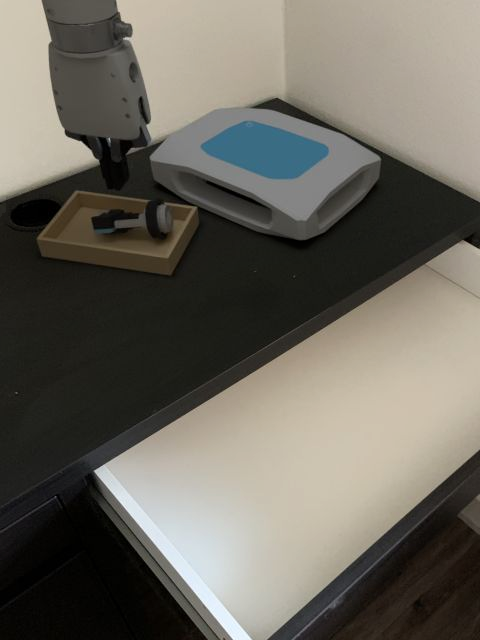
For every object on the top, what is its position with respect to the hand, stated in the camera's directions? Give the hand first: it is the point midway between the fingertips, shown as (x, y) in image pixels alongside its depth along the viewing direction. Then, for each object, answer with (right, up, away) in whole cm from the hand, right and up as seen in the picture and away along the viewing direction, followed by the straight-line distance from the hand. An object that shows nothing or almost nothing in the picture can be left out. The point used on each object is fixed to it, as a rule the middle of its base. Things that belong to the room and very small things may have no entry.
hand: (118, 184), depth 85 cm
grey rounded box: (+18, +5, +16) cm, 25 cm away
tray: (-1, -5, +7) cm, 9 cm away
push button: (-4, -3, +6) cm, 8 cm away
